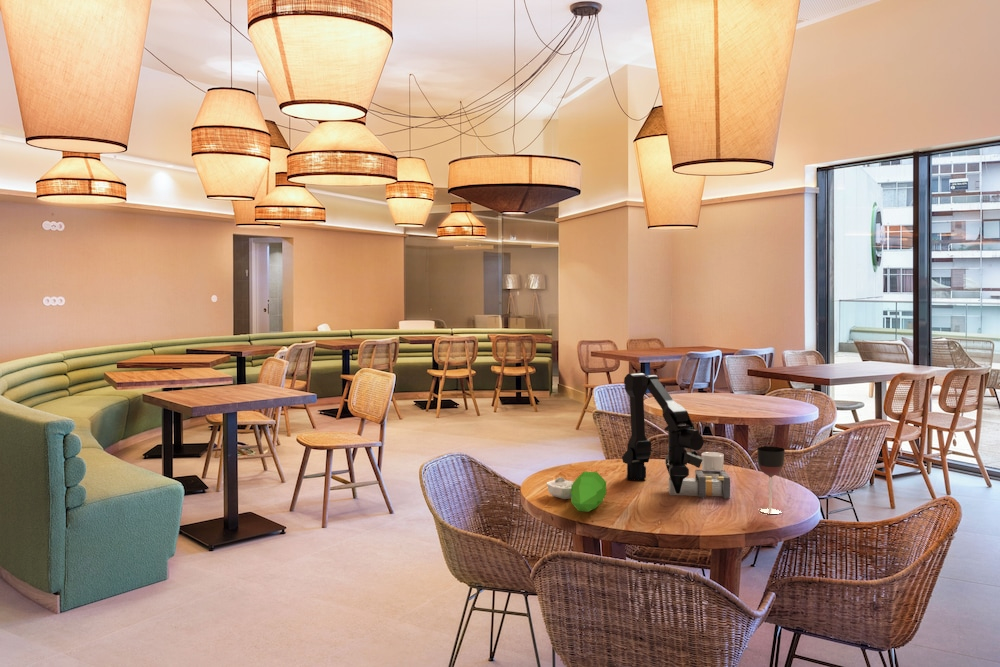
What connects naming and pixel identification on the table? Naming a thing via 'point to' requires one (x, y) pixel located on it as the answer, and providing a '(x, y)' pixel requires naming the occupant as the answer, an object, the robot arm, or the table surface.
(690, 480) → the grey rectangular bar
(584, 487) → the decorative tree
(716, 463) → the white cup
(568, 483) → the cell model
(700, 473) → the grey c-shaped bracket
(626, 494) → the table surface
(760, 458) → the wineglass
